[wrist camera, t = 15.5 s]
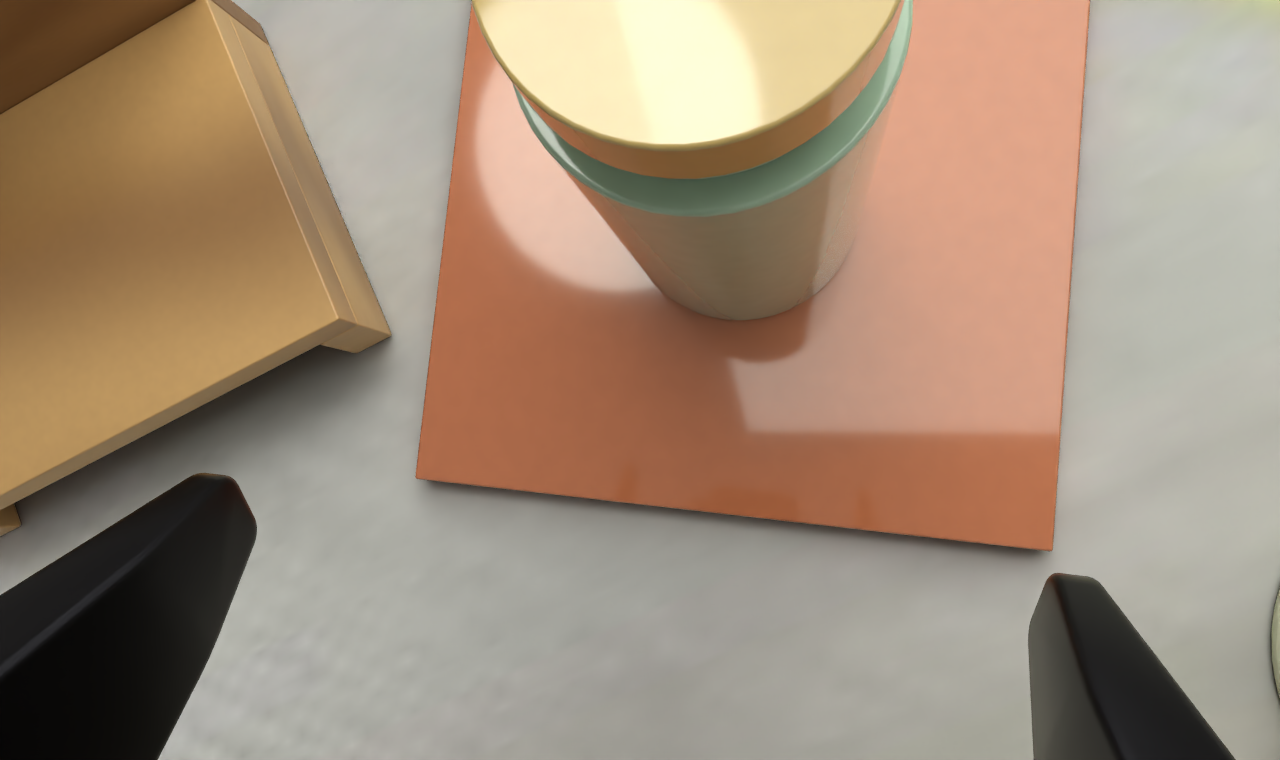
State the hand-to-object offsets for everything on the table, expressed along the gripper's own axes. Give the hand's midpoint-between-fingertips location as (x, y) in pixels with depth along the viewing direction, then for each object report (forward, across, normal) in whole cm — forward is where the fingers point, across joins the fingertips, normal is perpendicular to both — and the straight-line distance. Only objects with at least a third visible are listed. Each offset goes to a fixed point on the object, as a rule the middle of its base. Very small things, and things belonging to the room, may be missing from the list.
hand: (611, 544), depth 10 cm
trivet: (+15, 0, +4) cm, 16 cm away
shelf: (+12, +18, +7) cm, 23 cm away
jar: (+14, 0, +4) cm, 15 cm away
